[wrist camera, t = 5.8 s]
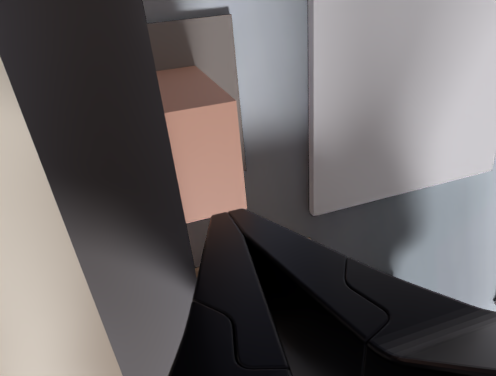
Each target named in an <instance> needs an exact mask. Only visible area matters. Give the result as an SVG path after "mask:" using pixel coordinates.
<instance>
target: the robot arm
mask: <svg viewBox="0 0 496 376" xmlns="http://www.w3.org/2000/svg"><path fill="white" fill-rule="evenodd" d="M168 376H496V312H494V311H490V310H485V309H481V308H478V307H475V306H472V305H469V304H467V303H464V302H461V301H458V300H456V299H453V298H450V297H447V296H445V295H442V294H439V293H436V292H434V291H431V290H428V289H426V288H423V287H420V286H417V285H415V284H412V283H409V282H407V281H404V280H401V279H399V278H396V277H394V276H391V275H388V274H386V273H383V272H381V271H379V270H376V269H374V268H372V267H370V266H367V265H365V264H363V263H360V262H358V261H356V260H354V259H352V258H350V257H348V258H347V257H346V256H345V255H343V254H341V253H339V252H336V251H334V250H332V249H330V248H328V247H326V246H323V245H321V244H319V243H317V242H315V241H313V240H311V239H308V238H306V237H304V236H302V235H300V234H298V233H295V232H293V231H291V230H289V229H287V228H285V227H282V226H280V225H278V224H276V223H274V222H272V221H269V220H267V219H265V218H263V217H261V216H259V215H256V214H254V213H252V212H250V211H248V210H246V209H243V208H240V209H236V210H232V211H228V212H223V213H219V214H214V215H212V216H211V218H210V223H209V227H208V232H207V236H206V240H205V245H204V249H203V254H202V258H201V263H200V267H199V272H198V276H197V280H196V285H195V289H194V294H193V298H192V303H191V306H190V311H189V315H188V319H187V322H186V326H185V330H184V333H183V336H182V339H181V342H180V345H179V348H178V350H177V353H176V356H175V358H174V361H173V363H172V366H171V368H170V371H169V373H168Z"/></svg>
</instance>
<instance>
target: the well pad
mask: <svg viewBox="0 0 496 376" xmlns="http://www.w3.org/2000/svg"><path fill="white" fill-rule="evenodd" d="M147 27H148V32H149V37H150V43H151V48H152V53H153V58H154V63H155V68H156V71H161V70H168V69H175V68H182V67H188V66H196V67H197V68H199V69H200V70H201V71H202V72H203V73H204V74H206V75H207V76H208V77H209V78H210V79H211V80H213V81H214V82H215V83H216V84H217V85H218V86H220V87H221V88H222V89H223V90H224V91H225V92H227V93H228V94H229V95H230V96H231V97H232V98H234V99H235V100H236V102H237V112H238V122H239V132H240V142H241V152H242V162H243V171H246V162H245V151H244V141H243V131H242V120H241V110H240V99H239V89H238V78H237V68H236V57H235V47H234V37H233V26H232V16H231V14H227V15H218V16H209V17H201V18H192V19H183V20H174V21H166V22H157V23H148V24H147Z"/></svg>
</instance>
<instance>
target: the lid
mask: <svg viewBox="0 0 496 376" xmlns="http://www.w3.org/2000/svg"><path fill="white" fill-rule="evenodd" d="M196 280H197V277H196V272H195V267H194V262H193V257H192V251H191V246H190V241H189V236H188V231H187V226H186V221H185V216H184V211H183V206H182V201H181V195H180V190H179V185H178V180H177V175H176V170H175V165H174V160H173V155H172V150H171V144H170V139H169V134H168V129H167V124H166V119H165V114H164V109H163V104H162V99H161V93H160V88H159V83H158V78H157V73H156V68H155V63H154V58H153V53H152V48H151V43H150V37H149V32H148V27H147V22H146V17H145V12H144V7H143V2H142V0H0V376H168V373H169V371H170V368H171V366H172V363H173V361H174V358H175V356H176V353H177V350H178V348H179V345H180V342H181V339H182V336H183V333H184V330H185V326H186V322H187V319H188V315H189V311H190V306H191V303H192V298H193V294H194V289H195V285H196Z"/></svg>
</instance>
